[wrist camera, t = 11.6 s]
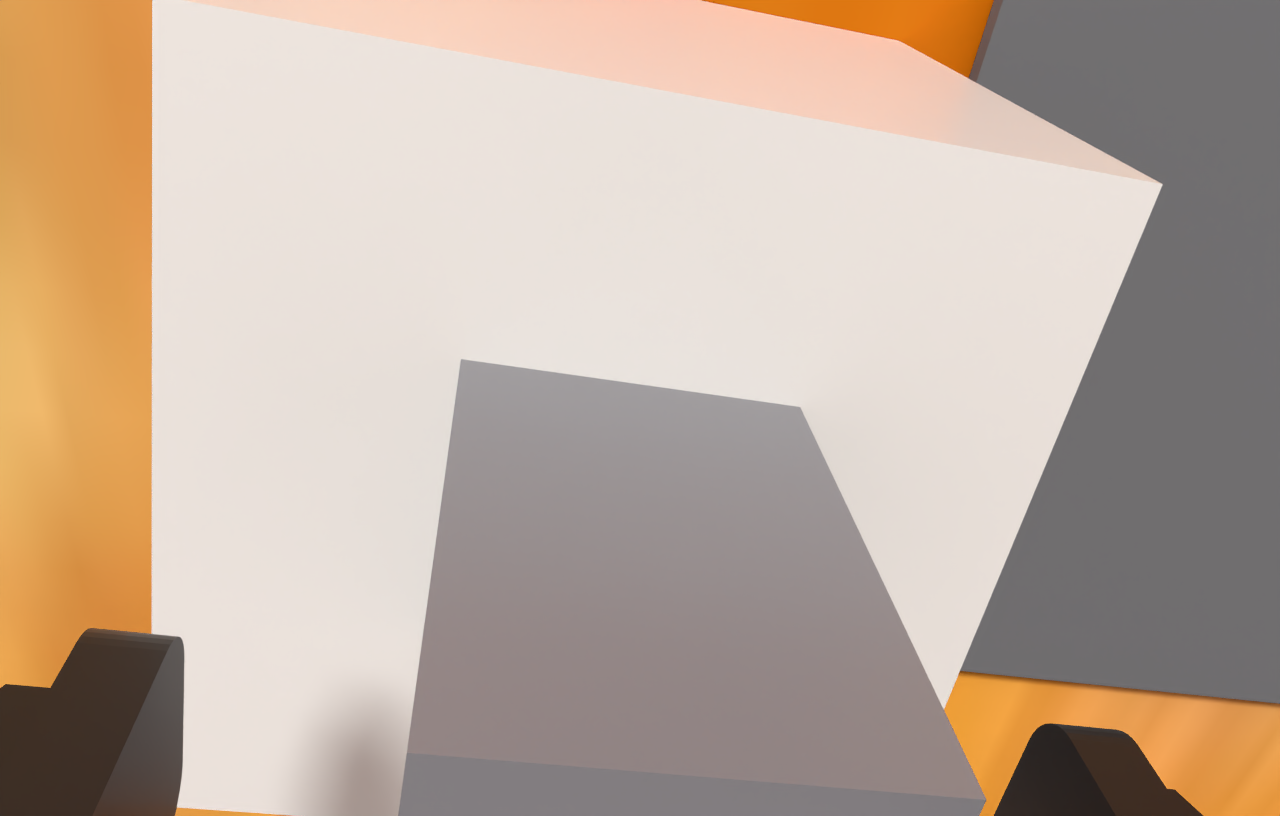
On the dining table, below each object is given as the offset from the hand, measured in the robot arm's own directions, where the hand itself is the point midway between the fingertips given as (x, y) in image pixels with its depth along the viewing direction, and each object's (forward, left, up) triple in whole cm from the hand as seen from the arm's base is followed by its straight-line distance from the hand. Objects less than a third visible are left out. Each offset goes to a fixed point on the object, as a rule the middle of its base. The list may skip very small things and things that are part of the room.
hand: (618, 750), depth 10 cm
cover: (0, 0, -14) cm, 14 cm away
